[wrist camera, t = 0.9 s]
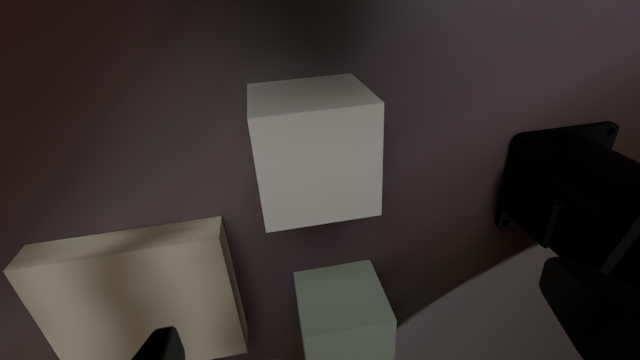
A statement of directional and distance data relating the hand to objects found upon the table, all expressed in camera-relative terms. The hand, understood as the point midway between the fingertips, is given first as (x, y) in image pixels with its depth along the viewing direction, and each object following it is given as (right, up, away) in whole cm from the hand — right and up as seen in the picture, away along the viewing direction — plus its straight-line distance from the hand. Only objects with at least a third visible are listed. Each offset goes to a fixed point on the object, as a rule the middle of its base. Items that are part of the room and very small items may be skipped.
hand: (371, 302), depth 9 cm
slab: (-11, -4, +13) cm, 18 cm away
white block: (-2, +6, +10) cm, 12 cm away
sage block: (0, -5, +16) cm, 17 cm away
